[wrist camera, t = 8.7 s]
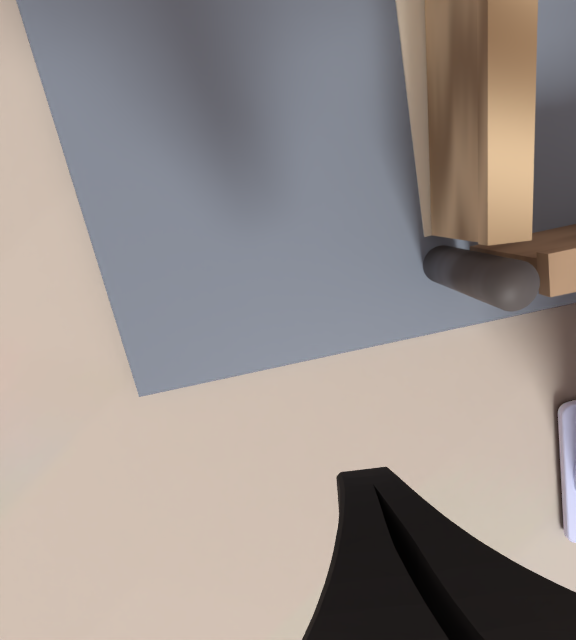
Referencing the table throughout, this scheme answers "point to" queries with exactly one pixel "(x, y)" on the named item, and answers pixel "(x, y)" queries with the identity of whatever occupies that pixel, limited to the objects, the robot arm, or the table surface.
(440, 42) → the oak fence section
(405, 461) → the table surface
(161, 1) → the board
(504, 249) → the walnut fence section
